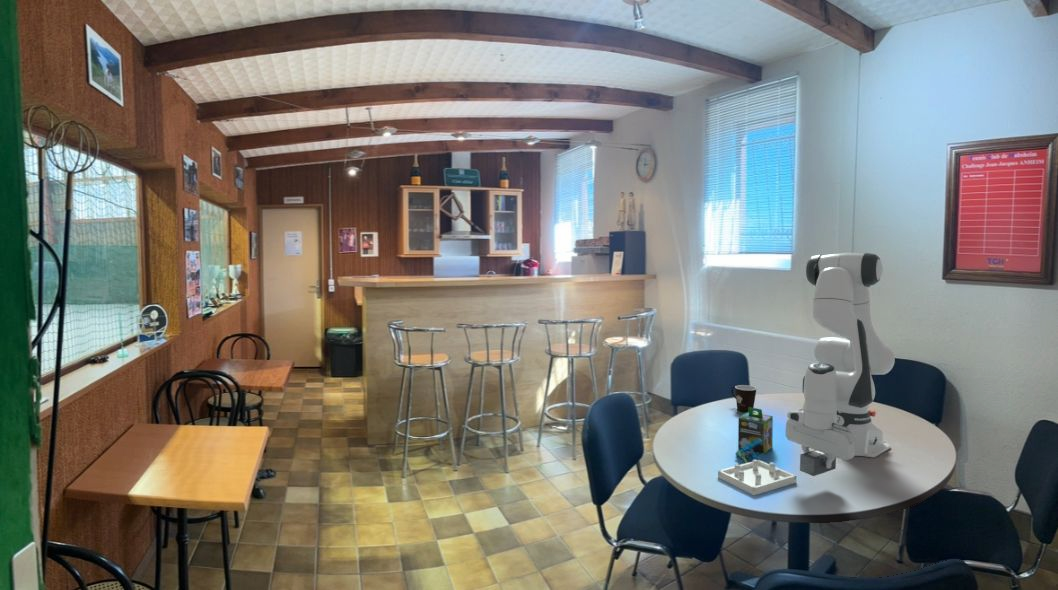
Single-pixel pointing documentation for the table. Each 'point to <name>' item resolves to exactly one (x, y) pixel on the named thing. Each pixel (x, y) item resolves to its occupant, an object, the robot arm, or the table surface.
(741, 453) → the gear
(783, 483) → the holder tray
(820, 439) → the robot arm
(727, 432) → the table surface
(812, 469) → the block
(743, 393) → the coffee mug
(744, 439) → the chalk box
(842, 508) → the table surface
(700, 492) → the table surface
